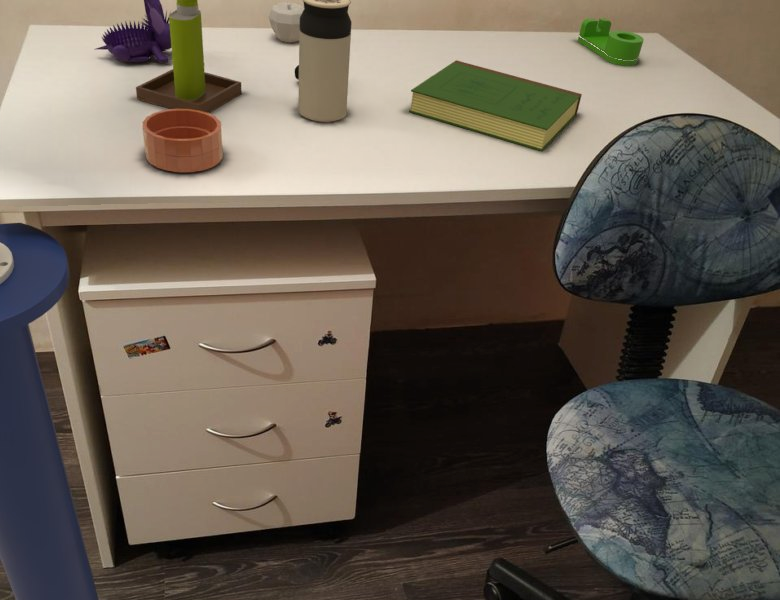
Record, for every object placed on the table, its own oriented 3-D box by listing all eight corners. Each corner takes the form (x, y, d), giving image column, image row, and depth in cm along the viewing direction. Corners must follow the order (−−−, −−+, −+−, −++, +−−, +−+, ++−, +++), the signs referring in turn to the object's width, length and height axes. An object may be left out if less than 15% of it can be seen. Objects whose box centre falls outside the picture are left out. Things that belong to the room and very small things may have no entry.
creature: (201, 65, 144) (196, -7, 136) (95, 67, 139) (84, -8, 131) (195, 48, 150) (190, -22, 142) (93, 49, 145) (82, -24, 137)
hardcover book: (576, 115, 143) (581, 94, 140) (542, 151, 130) (547, 129, 127) (449, 79, 150) (452, 59, 148) (404, 110, 137) (407, 88, 135)
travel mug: (311, 126, 129) (314, 7, 117) (290, 107, 134) (291, -9, 122) (354, 119, 132) (362, 3, 120) (332, 101, 137) (337, -13, 125)
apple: (311, 47, 156) (312, 11, 152) (271, 46, 155) (271, 10, 150) (305, 33, 162) (306, -2, 158) (266, 32, 160) (266, -3, 156)
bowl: (194, 181, 112) (192, 147, 108) (130, 161, 114) (126, 127, 111) (236, 153, 119) (235, 120, 116) (175, 135, 122) (172, 102, 119)
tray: (200, 117, 127) (199, 105, 126) (136, 99, 130) (135, 87, 129) (241, 93, 136) (241, 82, 135) (181, 77, 139) (180, 65, 138)
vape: (208, 89, 135) (201, -42, 122) (194, 102, 130) (184, -33, 117) (187, 85, 135) (178, -46, 122) (172, 98, 131) (160, -37, 118)
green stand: (643, 64, 167) (650, 41, 164) (615, 66, 164) (622, 43, 161) (603, 40, 177) (609, 18, 174) (576, 41, 174) (581, 19, 171)
